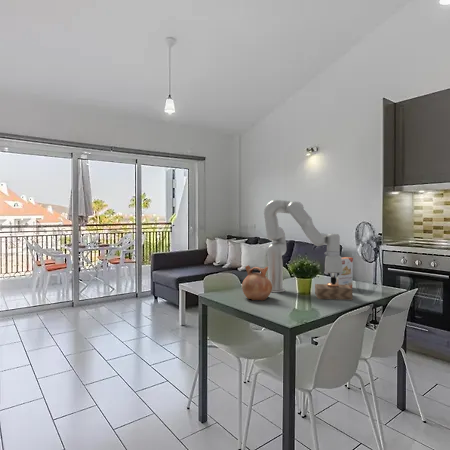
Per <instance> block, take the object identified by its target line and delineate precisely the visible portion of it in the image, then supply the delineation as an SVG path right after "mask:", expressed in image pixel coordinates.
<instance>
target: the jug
mask: <svg viewBox="0 0 450 450" xmlns="http://www.w3.org/2000/svg"><path fill="white" fill-rule="evenodd" d="M244 268H245V270H246V273H247V276H246V277H245V278H244V279H243V281H242V283H241V289H242V292H243V294H244V295H245V297H246V298H248V299H247V300H249V299H252V300H251V301H254V300H261V301H265V300H267V299H268V297H269V296H270V295H271V293H272V292H271V291H272V283H271V281H270V280H269V279H268V276H267V275H266V274H267V273H268V266H265V267H262V268H261V267H259V266H254V267H252V268H251V267H250V265H248V264H247V265H246V266H245V267H244ZM254 270H257V271H259V272H253V271H254Z"/></svg>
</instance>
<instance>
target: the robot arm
mask: <svg viewBox="0 0 450 450" xmlns="http://www.w3.org/2000/svg"><path fill="white" fill-rule="evenodd" d="M304 208H305V207H304V205H303V203H301V202H300V201H295V200H294V201H290V200H282V199H272V200H271V201H269V202H268V203H267V204H266V205H265V207H264V210H263V215H264V223H265V233H266V238H267V239H268V240H269V241H270V242H272V243H271V244H270V245H269V246H268V247H267V250H266V254H267V265H268V270H267V273H268V274H267V278H268V279H269V280H270V281H271V283H272V291H271V293H275V294H276V293H284V292H285V291H286V288H285V287H284V285H283V284H284V283H283V282H284V281H283V280H284V279H283V278H284V274H283V271H284V268H283V267H284V264H283V257H282V256H284V255H285V254H286V252H287V240H286V234H285V230H284V228H282V227H281V226H279V219H278V216H277V214H279V213H281V214H289V215H291V216H292V218H293V219H294V221H296V223H297V224H298V225H299V226H300V228H301V230H302V232H303V233H304V234H305V236H306V237H307V238H308V239H309V241H310V242H311V243H312V244H313V245H314V246H316V247H321V246H324V245H325V246H326V251H325V252H324V255H325V259H324V271H323V272H324V274H325V275H328V276H329V277H330V283H332V284H335V283H336V277H337V276H338V275H341V274H343V273H342V270H343V269H342V256H341V254H340V253H341V251H340V250H341V248H340V246H341V245H340V244H341V242H340V240H341V239H340V238H341V237H340V235H339V233H322V232H321V233H320V231H319V230H318V229H317V228H316V226H315V225H314V222H313V219H312V217H311V216H310V215H309V213H308V212H307V211H306V210H305V209H304ZM332 273H334V277H333V275H332Z"/></svg>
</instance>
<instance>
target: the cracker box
mask: <svg viewBox="0 0 450 450" xmlns="http://www.w3.org/2000/svg"><path fill="white" fill-rule="evenodd" d="M341 258H342V269H343V270H342V273H343V274H341V275H338V276H337V277H336V283H338V284H339V285H348V286H349V287H350V288H351V289H353V274H354V273H353V272H354V271H353V270H354V268H353V267H354V258H353V257H349V256H344V257H342V256H341ZM332 275H333V277H334V273H332Z"/></svg>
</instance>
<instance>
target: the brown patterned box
mask: <svg viewBox="0 0 450 450" xmlns="http://www.w3.org/2000/svg"><path fill="white" fill-rule="evenodd" d="M314 294H315V297H316V298H317V300H346V301H348V300H350V301H351V300H353V288H350V287H349V286H348V285H339V286H338V287H337V288H329V286H327V283H326V284H325V283H322V284H321V283H315V284H314Z"/></svg>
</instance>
